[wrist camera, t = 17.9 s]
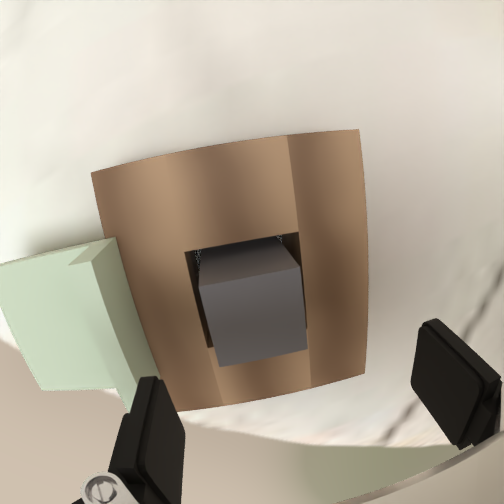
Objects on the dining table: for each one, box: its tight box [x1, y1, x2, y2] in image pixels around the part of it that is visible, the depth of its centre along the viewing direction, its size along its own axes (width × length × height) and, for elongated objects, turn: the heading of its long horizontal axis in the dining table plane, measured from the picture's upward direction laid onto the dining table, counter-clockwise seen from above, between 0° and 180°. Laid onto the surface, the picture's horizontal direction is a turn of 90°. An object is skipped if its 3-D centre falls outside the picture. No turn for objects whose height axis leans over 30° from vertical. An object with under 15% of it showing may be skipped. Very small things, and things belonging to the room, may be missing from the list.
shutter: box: [0, 237, 160, 413], centre depth 15 cm, size 9×9×4 cm
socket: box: [91, 129, 368, 412], centre depth 20 cm, size 14×16×5 cm
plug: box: [199, 236, 308, 367], centre depth 18 cm, size 4×4×8 cm
